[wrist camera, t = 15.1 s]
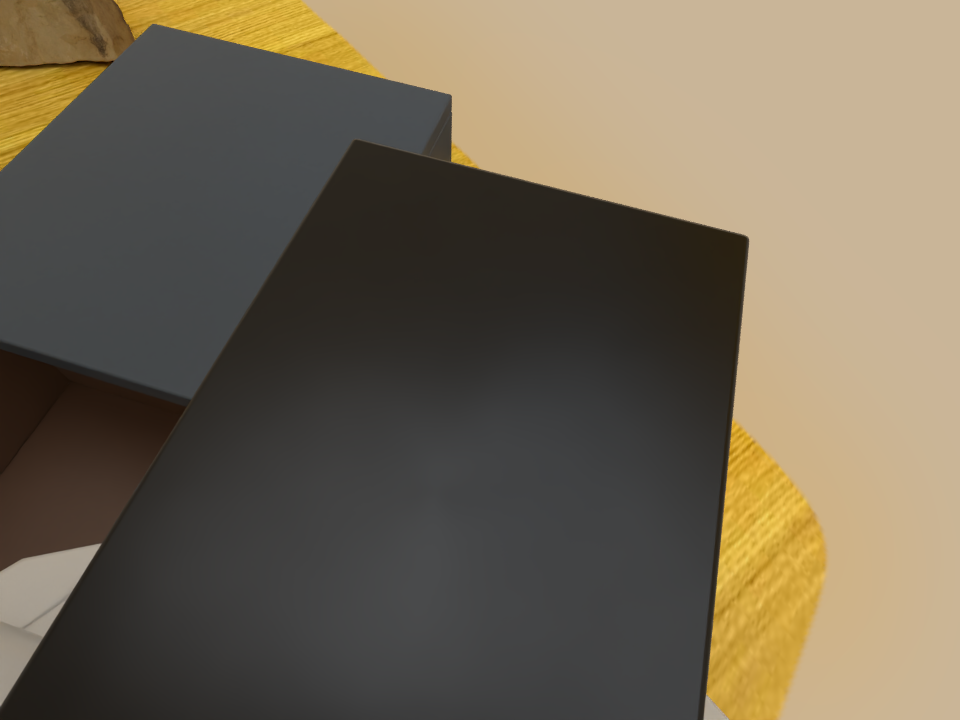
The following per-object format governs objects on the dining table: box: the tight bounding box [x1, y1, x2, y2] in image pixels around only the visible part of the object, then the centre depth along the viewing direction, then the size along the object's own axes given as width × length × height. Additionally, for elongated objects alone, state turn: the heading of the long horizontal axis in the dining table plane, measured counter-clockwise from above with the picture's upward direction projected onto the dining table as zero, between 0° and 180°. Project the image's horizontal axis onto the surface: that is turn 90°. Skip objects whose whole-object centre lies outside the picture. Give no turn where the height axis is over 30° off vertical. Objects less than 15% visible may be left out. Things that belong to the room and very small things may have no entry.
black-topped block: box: [0, 139, 749, 720], centre depth 9 cm, size 4×6×12 cm, turn 163°
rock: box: [0, 0, 135, 66], centre depth 36 cm, size 11×9×10 cm
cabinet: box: [0, 24, 452, 407], centre depth 26 cm, size 16×14×9 cm
